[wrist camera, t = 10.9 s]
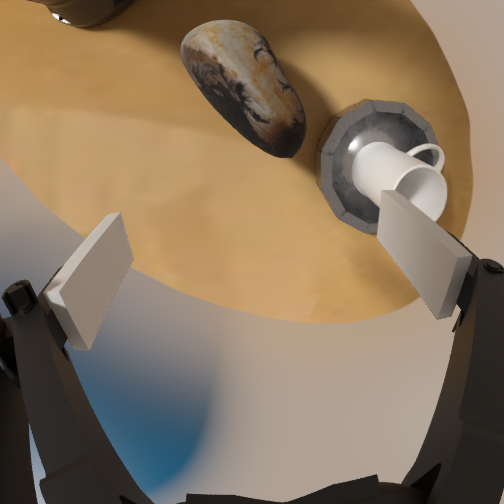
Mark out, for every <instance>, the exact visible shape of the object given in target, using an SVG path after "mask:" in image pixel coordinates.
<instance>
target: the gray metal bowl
mask: <svg viewBox="0 0 504 504" xmlns="http://www.w3.org/2000/svg"><path fill="white" fill-rule="evenodd" d="M373 142H385V143H388V144H390V145H392V146H393V147H395V148H396V149H397V150H400V151H402V152H404V153H407V152H408V151H410V150H411V149H413V148H415V147H417V146H420V145H423V144H435V145H437V146H438V143H437V140H436V138H435V135H434V132H433V130H432V127H431V125H430V124H429V123H428V122H427V121H426V120H425V119H424V118H423V117H421V116H420V115H419V114H418V113H417V112H415V111H414V110H413V109H412V108H410V107H409V106H408V105H407V104H405V103H400V102H392V101H381V100H369V99H364V100H362V101H360V102H358V103H356V104H353V105H351V106H349V107H347V108H346V109H344V110H343V111H341V112H340V113H338V114H337V115H335V117H333V119H332V121H331V122H330V123H329V124H328V126H327V128H326V129H325V131H324V133H323V135H322V137H321V139H320V142H319V144H318V146H317V149H316V165H315V166H316V176H317V186H318V187H319V189H320V191H321V192H322V194H323V196H324V198H325V199H326V201H327V202H328V204H329V206H330V208H331V209H332V211H333V213H334V214H335V215H336V217H337V218H338V219H339V220H341V221H343V222H345V223H347V224H349V225H350V226H352V227H354V228H356V229H358V230H360V231H362V232H364V233H377V230H378V222H379V212H380V208H379V207H378V206H377V205H376V204H375V203H374V202H373V201H372V200H371V199H369V198H368V197H366V196H364V195H363V194H362V193H360V192H359V191H358V189H357V188H356V186H355V185H354V182H353V179H352V164H353V161H354V159H355V157H356V155H357V153H358V152H359V151H360V150H361V149H362V148H363V147H364V146H366V145H368V144H370V143H373ZM413 157H414V158H417V159H419V160H421V161H423V162H425V163H427V164H429V165H431V166H433V167H434V166H435V165H436V164H437V162H438V159H439V152H438V151H437V150H435V149H427V150H423V151H421V152H419V153H417V154H415V155H414V156H413Z"/></svg>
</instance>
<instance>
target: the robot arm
mask: <svg viewBox="0 0 504 504" xmlns="http://www.w3.org/2000/svg"><path fill="white" fill-rule="evenodd" d="M28 1H33V2H37V3H41V4H44V5H46V7H47V8H48V9H49V10H50V12H51V13H52V14H53V16H54V17H55V18H56V19H57V20H59V21H60V22H62V23H64V24H67V25H70V26H74V27H82V28H84V27H92V26H96V25H99V24H102V23H105V22H107V21H109V20H111V19H113V18H114V17H116V16H118V15H119V14H120V13H122V12H123V11H124V10H126V9H127V8H128V7H129V6H130V5H131V4H132V3H133V2H134V1H135V0H28ZM377 240H378V241H379V242H380V243H381V245H382V246H383V247H384V248H385V250H386V251H387V252H388V253H389V255H390V256H391V257H392V259H393V260H394V261H395V262H396V264H397V265H398V266H399V268H400V269H401V270H402V272H403V273H404V274H405V276H406V277H407V278H408V280H409V281H410V282H411V284H412V285H413V286H414V288H415V289H416V291H417V292H418V293H419V295H420V296H421V298H422V299H423V300H424V302H425V303H426V305H427V306H428V307H429V309H430V310H431V312H432V313H433V315H434V316H435V318H436V319H437V320H438V319H442V318H446V317H450V316H452V313H453V311H454V308H455V306H456V304H457V305H458V306H459V308H460V309H461V311H460V314H459V316H458V319H457V321H456V323H455V326H454V328H453V330H452V332H455V330H456V332H455V336H454V341H453V346H452V351H451V355H450V360H449V364H448V368H447V372H446V376H445V379H444V383H443V386H442V390H441V393H440V397H439V400H438V403H437V406H436V410H435V412H434V415H433V418H432V421H431V424H430V427H429V429H428V432H427V435H426V437H425V440H424V442H423V445H422V448H421V450H420V452H419V454H418V457H417V459H416V461H415V463H414V465H413V466H412V468H411V469H410V471H409V472H408V474H407V475H406V477H405V478H404V480H403V481H402V483H401V484H396V483H389V482H379V481H378V477H377V474H376V475H372V476H368V477H365V478H360V479H356V480H352V481H347V482H343V483H338V484H333V485H331V486H328V487H326V488H323V489H321V490H318V491H316V492H313V493H311V494H308V495H306V496H303V497H300V498H297V499H295V500H292V501H289V502H273V501H265V500H259V499H252V498H247V497H242V496H236V495H204V494H187V495H186V502H181V503H177V504H499V503H500V500H501V496H502V493H503V489H504V268H503V266H502V265H501V264H499V263H497V262H496V261H493V260H491V259H481V260H480V259H479V258H478V257H477V256H476V255H475V254H474V253H472V252H471V251H470V250H469V249H468V248H467V247H466V246H464V244H463V243H462V242H459V240H458V239H457V238H456V237H455V236H454V235H453V234H451V233H449V232H447V231H445V230H444V229H443V228H441V227H440V226H439V225H438V224H437V223H436V222H434V221H433V220H432V219H431V218H430V217H428V216H427V215H426V214H425V213H423V212H422V211H421V210H420V209H419V208H417V207H416V206H415V205H413V204H412V203H411V202H410V201H408V200H407V199H406V198H405V197H403V196H402V195H401V194H399V193H398V192H397V191H395V190H382V191H381V202H380V212H379V222H378V230H377ZM133 260H134V258H133V255H132V251H131V248H130V244H129V241H128V237H127V234H126V230H125V226H124V222H123V219H122V215H121V212H118V213H111V214H107V216H106V217H105V218H104V219H103V220H102V221H101V222H100V223H99V224H98V225H97V227H96V228H95V229H94V230H93V231H92V232H91V233H90V235H89V236H88V237H87V238H86V239H85V240H84V242H83V243H82V244H81V245H80V246H79V247H78V249H77V250H76V251H75V252H74V253H73V255H72V256H71V257H70V258H69V260H68V261H67V262H66V263H65V264H64V265H63V266H62V267H60V269H58V270H57V272H56V273H55V274H54V275H53V277H52V278H51V279H50V281H49V283H47V285H46V286H45V287H44V289H43V290H42V291H41V293H40V294H39V295H38V297H37V296H36V294H35V292H34V290H33V288H32V286H31V284H30V282H29V281H28V280H21V281H18V282H15V283H14V284H12V285H11V286H9V287H8V288H7V289H6V290H5V292H4V293H3V295H2V299H3V301H4V303H5V305H6V307H7V308H8V310H9V312H10V314H11V315H12V317H8V318H5V319H3V318H2V316H1V314H0V364H1V365H2V368H1V366H0V504H38V502H37V497H36V491H35V486H34V479H33V471H32V463H31V453H30V440H29V424H30V427H31V430H32V434H33V438H34V441H35V444H36V447H37V450H38V453H39V456H40V459H41V462H42V464H43V467H44V470H45V473H46V478H44V479H41V480H40V484H39V486H40V489H41V493H42V495H43V498H44V500H45V503H46V504H154V503H153V502H152V501H151V500H150V499H149V498H148V497H147V496H146V495H145V494H144V493H143V492H142V490H141V489H140V488H139V486H138V485H137V484H136V482H135V481H134V479H133V478H132V476H131V475H130V473H129V472H128V470H127V469H126V467H125V466H124V464H123V462H122V461H121V459H120V458H119V456H118V454H117V453H116V451H115V449H114V448H113V446H112V444H111V443H110V441H109V439H108V437H107V435H106V434H105V432H104V430H103V428H102V426H101V424H100V422H99V421H98V419H97V417H96V415H95V413H94V411H93V409H92V407H91V405H90V403H89V400H88V398H87V396H86V394H85V392H84V390H83V387H82V385H81V383H80V381H79V378H78V376H77V374H76V371H75V369H74V366H73V364H72V362H71V359H70V357H69V354H68V351H67V350H66V348H65V347H64V344H65V342H66V340H67V339H68V340H69V342H70V343H71V345H72V347H73V349H75V350H90V348H91V346H92V343H93V341H94V339H95V337H96V335H97V332H98V330H99V328H100V326H101V324H102V322H103V319H104V317H105V315H106V313H107V311H108V309H109V307H110V305H111V303H112V300H113V298H114V296H115V294H116V293H117V291H118V289H119V287H120V285H121V283H122V281H123V279H124V277H125V275H126V273H127V271H128V269H129V267H130V265H131V263H132V262H133Z"/></svg>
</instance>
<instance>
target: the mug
mask: <svg viewBox="0 0 504 504" xmlns="http://www.w3.org/2000/svg"><path fill="white" fill-rule="evenodd" d="M427 149H435V150H437V151H438V152H439V159H438V162H437V164H436V165H435V166H434V167H433V166H431V165H429V164H427V163H425V162H423V161H421V160H419V159H417V158H414V157H413V156H414V155H415V154H417V153H419V152H421V151H423V150H427ZM444 162H445V156H444V153H443V151H442V149H441V148H440V147H439V146H437V145H435V144H423V145H420V146H417V147H415V148H413V149H411V150H410V151H408V152H407V153H404V152H402V151H400V150H397V149H396V148H395V147H393V146H392V145H390V144H388V143H385V142H373V143H370V144H368V145H366V146H364V147H363V148H362V149H361V150H360V151H359V152H358V153H357V155H356V157H355V159H354V161H353V164H352V179H353V182H354V185H355V186H356V188H357V189H358V191H359V192H360V193H362V194H363V195H364V196H366V197H368V198H369V199H371V200H372V201H373V202H374V203H375V204H376V205H377V206H378V207H379V208H380V202H381V191H382V190H395V191H397V192H398V193H399V194H401V195H402V196H403V197H405V198H406V199H407V200H408V201H410V202H411V203H412V204H413V205H415V206H416V207H417V208H419V209H420V210H421V211H422V212H423V213H425V214H426V215H427V216H428V217H430V218H431V219H432V220H433V221H434V222H436V221H437V220H438V218H439V217H440V216H441V214H442V212H443V210H444V208H445V205H446V201H447V185H446V182H445V179H444V177H443V176H442V174H441V173H440V172H441V170H442V168H443V166H444Z"/></svg>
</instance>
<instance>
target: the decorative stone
mask: <svg viewBox="0 0 504 504" xmlns="http://www.w3.org/2000/svg"><path fill="white" fill-rule="evenodd" d="M180 52H181V58H182V61H183V63H184V66H185V68H186V70H187V71H188V73H189V75H190V76H191V78H192V79H193V81H194V82H195V84H196V85H197V87H198V88H199V89H200V91H201V92H202V94H203V95H204V96H205V98H206V99H207V100H208V102H209V103H210V104H211V105H212V106H213V107H214V109H215V110H217V111H218V112H219V113H220V114H221V115H222V116H223V118H224V119H225V120H226V121H227V122H228V123H229V124H231V125H232V127H233V128H235V129H236V130H237V131H238V132H239V133H240V134H241V135H242V136H243V137H245V138H246V139H247V140H248V141H250V142H251V143H252V144H254V145H255V146H257V147H258V148H260V149H261V150H263V151H265V152H266V153H268V154H270V155H273V156H275V157H279V158H292V157H293V156H294V155H295V154H296V153H297V151H298V150H299V149H300V147H301V145H302V143H303V140H304V138H305V134H306V118H305V113H304V110H303V107H302V105H301V102H300V100H299V98H298V96H297V94H296V92H295V90H294V88H293V87H292V85H291V83H290V81H289V80H288V78H287V76H286V74H285V73H284V71H283V69H282V68H281V66H280V64H279V62H278V61H277V59H276V57H275V56H274V54H273V52H272V50H271V48H270V46H269V44H268V42H267V41H266V39H265V38H264V37H263V36H262V35H261V33H259V32H258V31H257V30H256V29H255V28H253V27H251V26H250V25H248V24H246V23H243V22H240V21H235V20H216V21H211V22H207V23H204V24H202V25H200V26H198V27H196V28H194V29H193V30H191V31H190V32H189V33H188V34H187V35H186V36H185V37H184V39H183V41H182V43H181V48H180Z"/></svg>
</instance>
